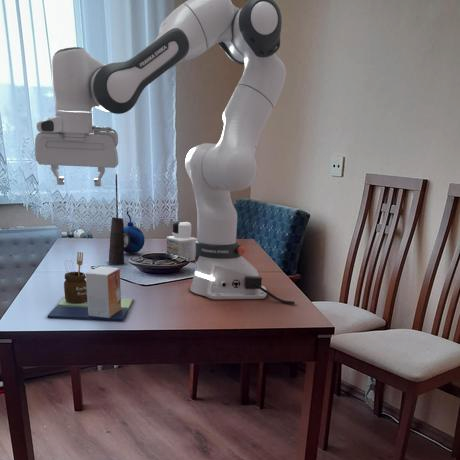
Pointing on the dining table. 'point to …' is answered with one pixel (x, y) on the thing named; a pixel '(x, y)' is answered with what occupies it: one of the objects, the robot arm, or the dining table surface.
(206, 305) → the dining table surface
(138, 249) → the bomb
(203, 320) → the dining table surface
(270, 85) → the robot arm
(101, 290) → the small box
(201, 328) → the dining table surface
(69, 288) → the utensil holder
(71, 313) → the slate mat
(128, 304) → the sage mat
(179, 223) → the container
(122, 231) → the butter churn
